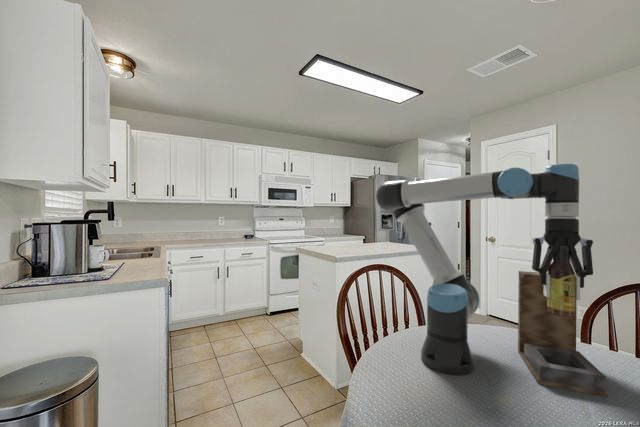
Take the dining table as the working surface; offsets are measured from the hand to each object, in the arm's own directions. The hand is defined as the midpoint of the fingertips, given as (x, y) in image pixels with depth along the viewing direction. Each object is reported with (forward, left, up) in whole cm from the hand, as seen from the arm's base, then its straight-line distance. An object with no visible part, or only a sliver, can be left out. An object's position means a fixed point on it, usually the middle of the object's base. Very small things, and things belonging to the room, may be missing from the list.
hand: (561, 297), depth 84 cm
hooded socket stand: (0, +3, -23) cm, 23 cm away
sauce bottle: (0, 0, -5) cm, 5 cm away
